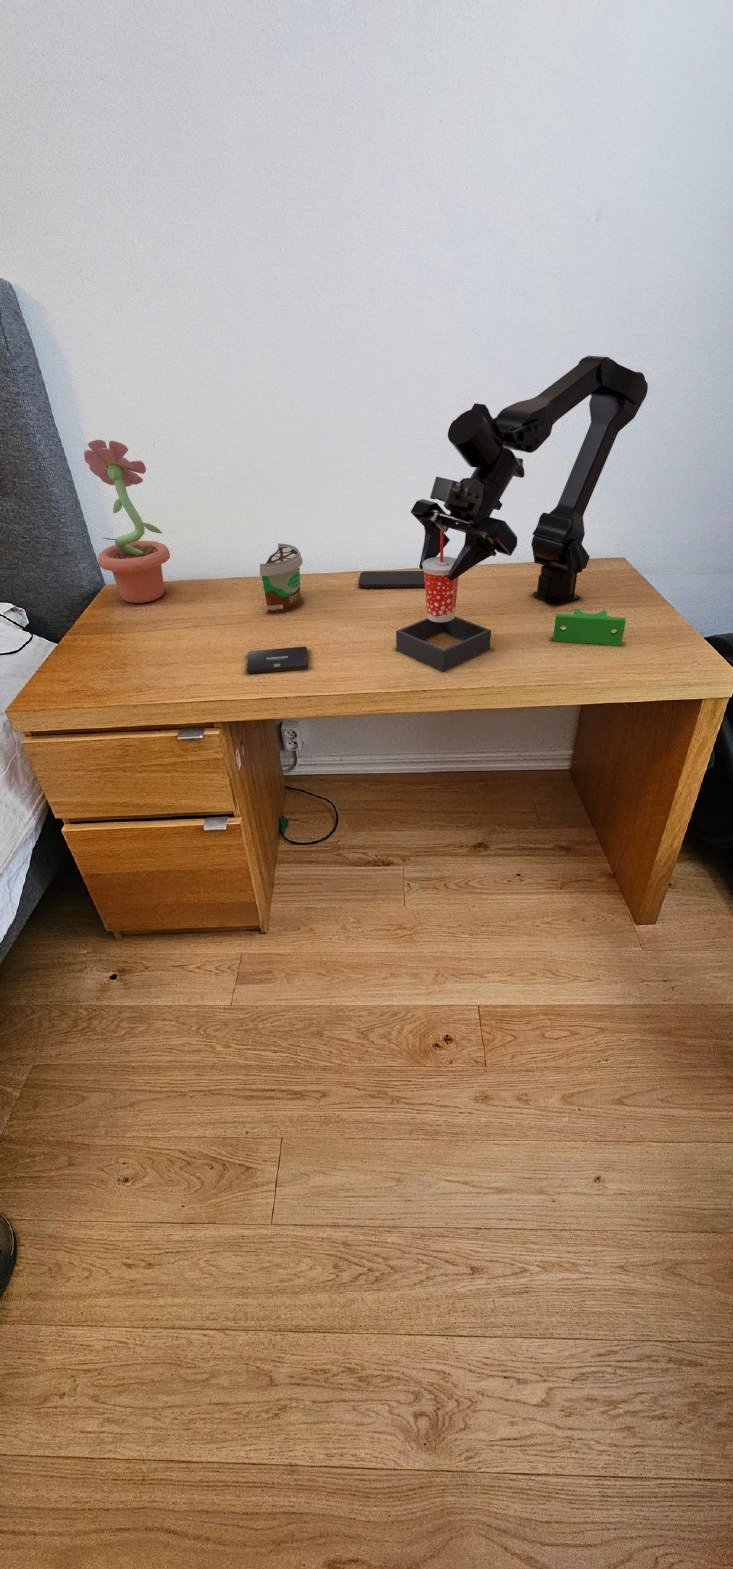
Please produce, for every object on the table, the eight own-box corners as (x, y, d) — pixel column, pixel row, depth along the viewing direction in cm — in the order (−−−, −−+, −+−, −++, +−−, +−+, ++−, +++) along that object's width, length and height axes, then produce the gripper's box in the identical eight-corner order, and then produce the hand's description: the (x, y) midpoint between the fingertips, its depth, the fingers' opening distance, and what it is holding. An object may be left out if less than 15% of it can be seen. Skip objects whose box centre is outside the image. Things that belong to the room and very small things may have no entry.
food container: (296, 617, 131) (291, 565, 125) (265, 616, 133) (258, 564, 127) (313, 592, 141) (309, 543, 135) (284, 591, 142) (278, 542, 136)
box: (442, 629, 125) (442, 611, 122) (489, 649, 118) (491, 630, 115) (396, 649, 119) (395, 630, 117) (443, 671, 112) (443, 652, 110)
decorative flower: (193, 585, 147) (161, 428, 129) (167, 611, 137) (128, 445, 119) (128, 583, 150) (88, 429, 132) (97, 609, 139) (49, 446, 121)
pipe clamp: (620, 636, 119) (625, 611, 117) (620, 646, 116) (626, 620, 114) (553, 631, 122) (556, 606, 119) (552, 641, 119) (555, 615, 116)
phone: (432, 583, 140) (358, 584, 141) (432, 587, 140) (358, 588, 141) (432, 570, 146) (360, 571, 147) (432, 574, 146) (360, 575, 147)
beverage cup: (439, 605, 119) (440, 522, 110) (467, 615, 115) (470, 529, 107) (414, 617, 116) (413, 532, 107) (442, 627, 112) (443, 540, 103)
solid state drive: (308, 668, 115) (307, 664, 114) (247, 673, 114) (246, 670, 114) (307, 649, 120) (306, 646, 120) (248, 654, 120) (248, 650, 119)
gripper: (418, 445, 108) (367, 534, 110) (510, 463, 97) (452, 562, 98) (453, 487, 117) (405, 569, 118) (541, 508, 105) (487, 599, 107)
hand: (435, 574), depth 110 cm, fingers closed on beverage cup, 6 cm apart
